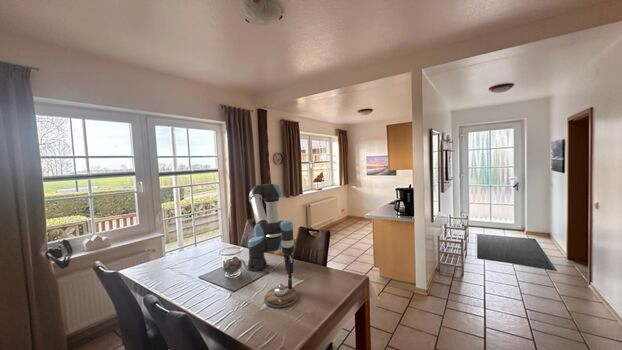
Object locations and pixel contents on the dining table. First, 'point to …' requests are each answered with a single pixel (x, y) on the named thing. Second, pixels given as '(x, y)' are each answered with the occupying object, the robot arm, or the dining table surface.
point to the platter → (281, 300)
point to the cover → (281, 290)
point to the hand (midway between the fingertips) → (289, 282)
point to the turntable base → (281, 305)
